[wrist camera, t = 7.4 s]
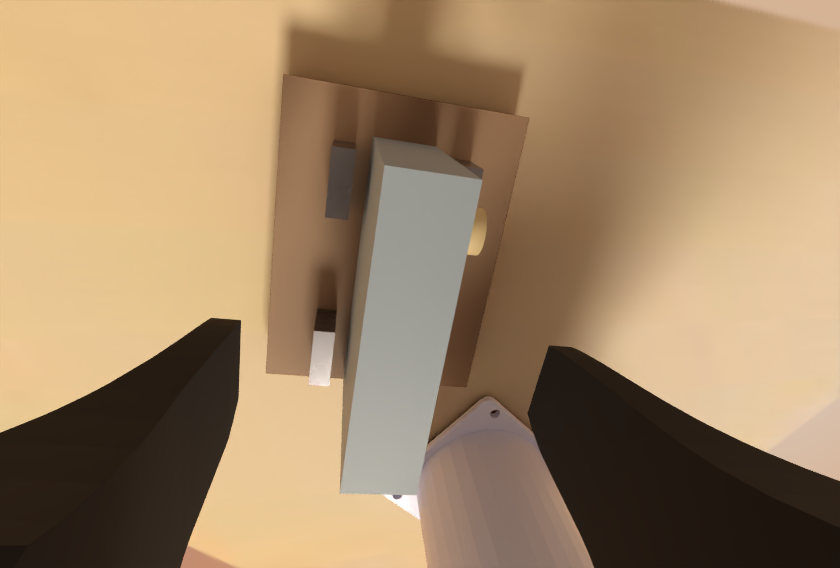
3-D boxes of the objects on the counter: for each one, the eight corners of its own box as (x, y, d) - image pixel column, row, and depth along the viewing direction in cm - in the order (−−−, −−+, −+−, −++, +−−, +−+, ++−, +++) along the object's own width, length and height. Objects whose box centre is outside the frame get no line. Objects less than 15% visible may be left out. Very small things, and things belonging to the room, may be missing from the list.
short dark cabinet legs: (470, 161, 18) (483, 169, 17) (429, 367, 22) (436, 393, 20) (333, 139, 18) (331, 145, 16) (312, 358, 21) (308, 384, 19)
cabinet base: (516, 115, 20) (529, 117, 18) (459, 369, 24) (466, 387, 22) (288, 75, 18) (283, 74, 17) (271, 355, 22) (265, 373, 21)
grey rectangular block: (456, 149, 18) (513, 184, 12) (414, 375, 22) (441, 496, 15) (372, 136, 18) (384, 165, 11) (343, 370, 21) (339, 493, 15)
